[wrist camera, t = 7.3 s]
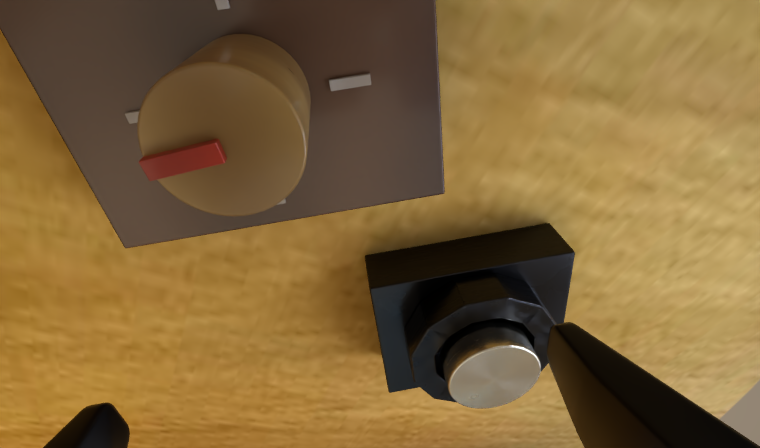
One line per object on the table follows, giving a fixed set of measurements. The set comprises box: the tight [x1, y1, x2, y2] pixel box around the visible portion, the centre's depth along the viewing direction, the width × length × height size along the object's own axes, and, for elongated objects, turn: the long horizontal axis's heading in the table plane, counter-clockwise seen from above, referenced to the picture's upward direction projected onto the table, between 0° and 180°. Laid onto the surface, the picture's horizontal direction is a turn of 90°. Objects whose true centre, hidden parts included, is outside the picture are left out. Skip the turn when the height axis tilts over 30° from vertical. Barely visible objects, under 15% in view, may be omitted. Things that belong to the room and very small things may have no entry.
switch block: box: [365, 223, 575, 402], centre depth 22 cm, size 10×8×4 cm
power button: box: [440, 318, 541, 408], centre depth 20 cm, size 4×4×2 cm
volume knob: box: [137, 34, 311, 216], centre depth 12 cm, size 4×4×5 cm
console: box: [0, 0, 445, 248], centre depth 15 cm, size 13×10×3 cm
